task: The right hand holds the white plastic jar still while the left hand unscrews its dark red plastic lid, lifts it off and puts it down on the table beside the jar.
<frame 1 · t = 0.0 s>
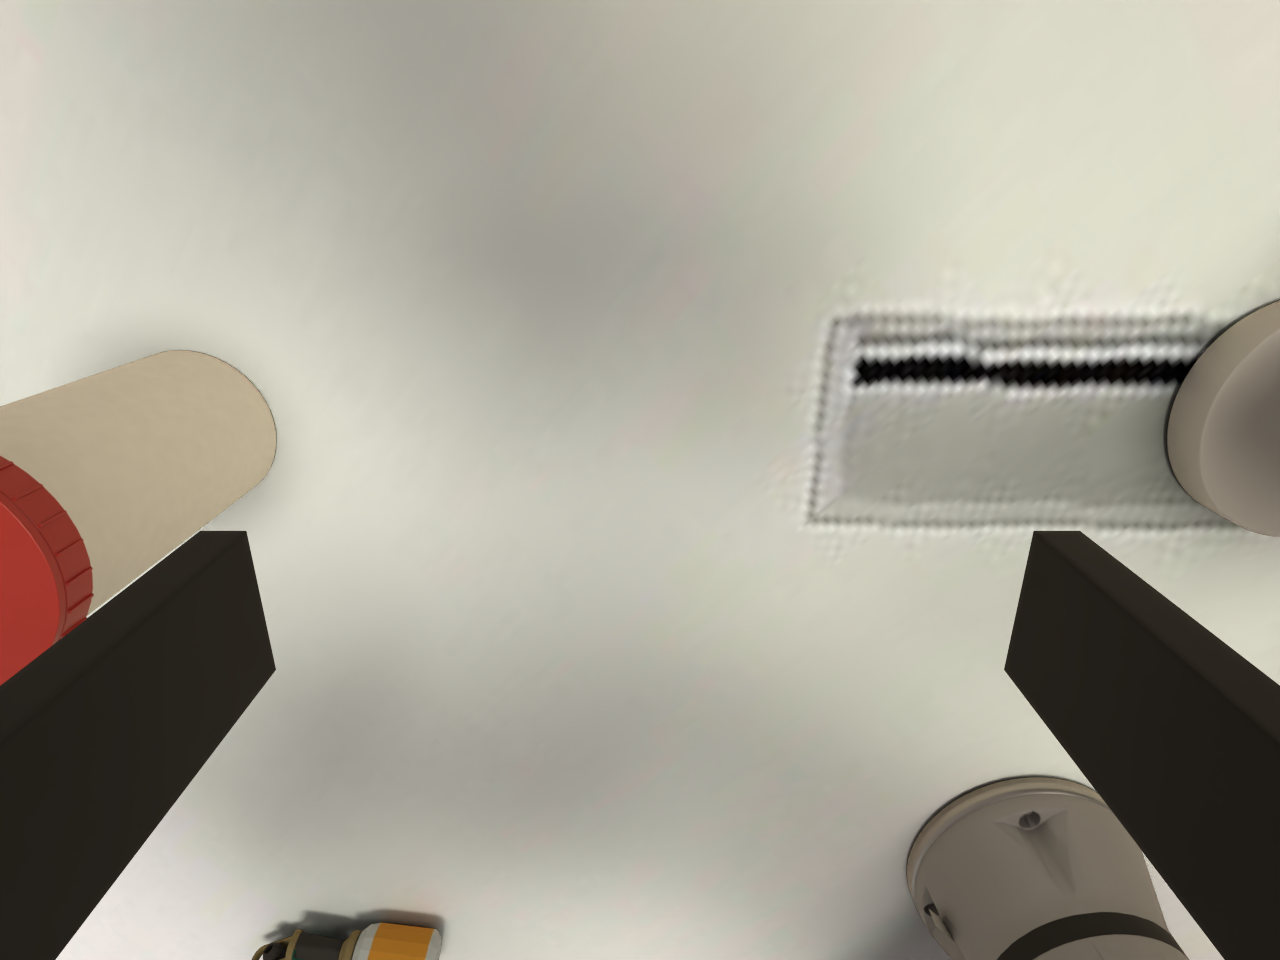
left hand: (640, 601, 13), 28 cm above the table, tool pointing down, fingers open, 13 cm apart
jar: (197, 427, 41), on the table
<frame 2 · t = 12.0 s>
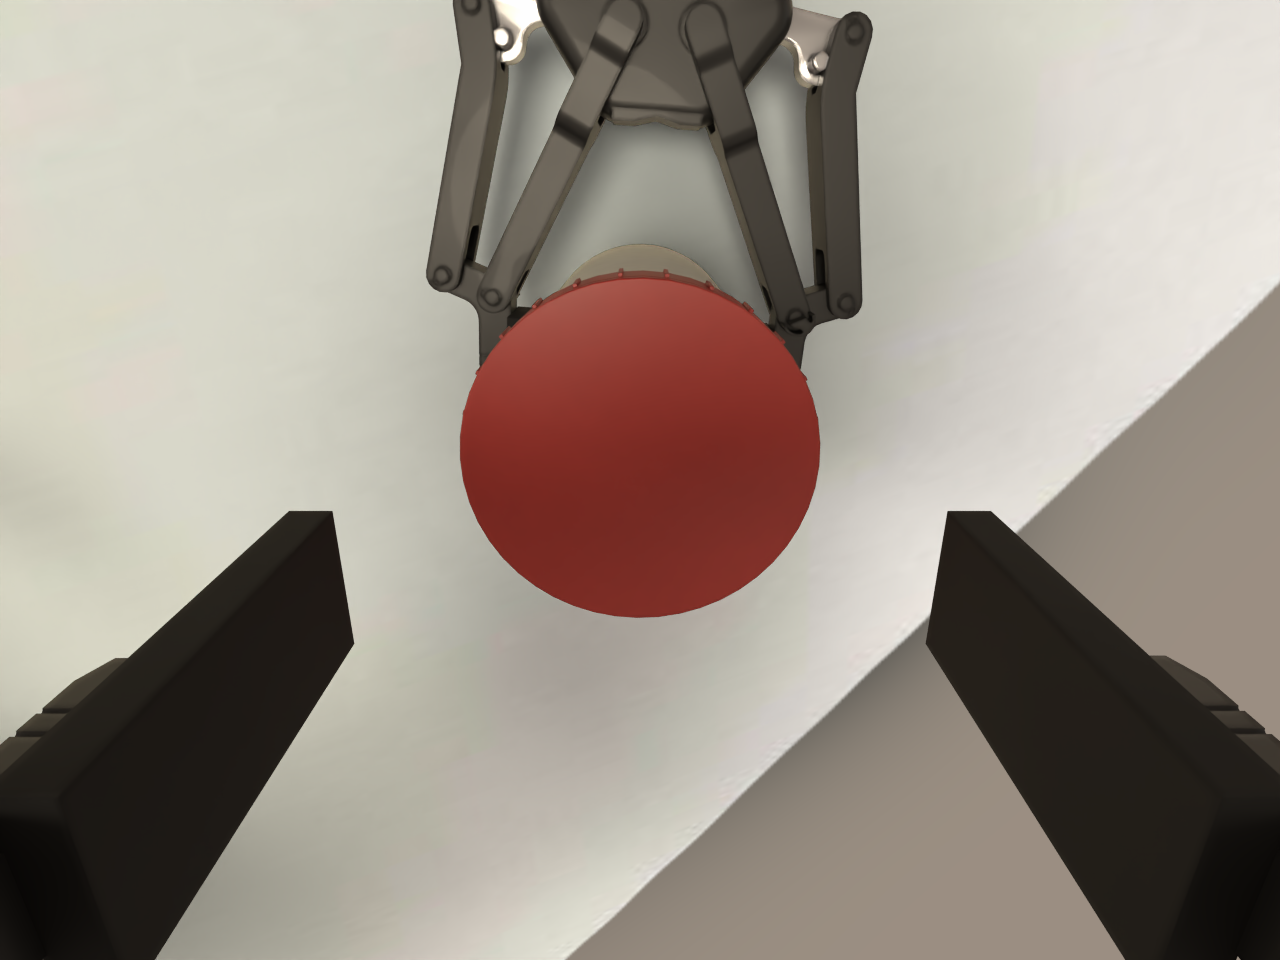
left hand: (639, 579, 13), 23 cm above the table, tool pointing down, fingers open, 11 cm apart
right hand: (632, 476, 31), fingers closed on jar, 9 cm apart
lid: (640, 458, 19), point 17 cm above the table, screwed on, not yet turned
jar: (639, 339, 35), on the table, touching right hand
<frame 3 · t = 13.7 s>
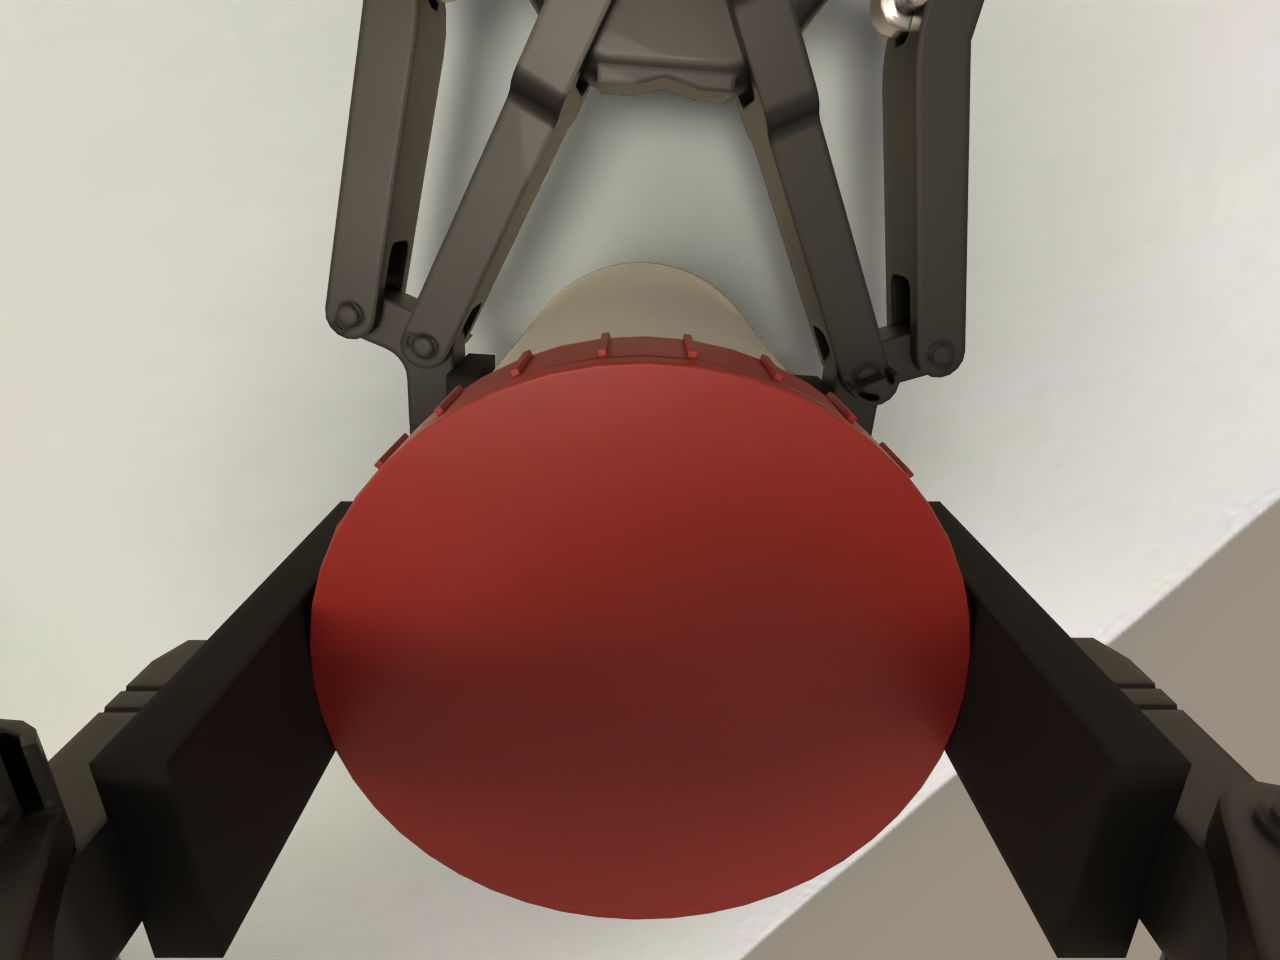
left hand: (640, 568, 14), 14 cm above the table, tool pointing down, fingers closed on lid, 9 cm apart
right hand: (629, 586, 22), fingers closed on jar, 9 cm apart
lid: (640, 671, 11), point 17 cm above the table, screwed on, not yet turned, touching left hand
jar: (639, 387, 26), on the table, touching right hand
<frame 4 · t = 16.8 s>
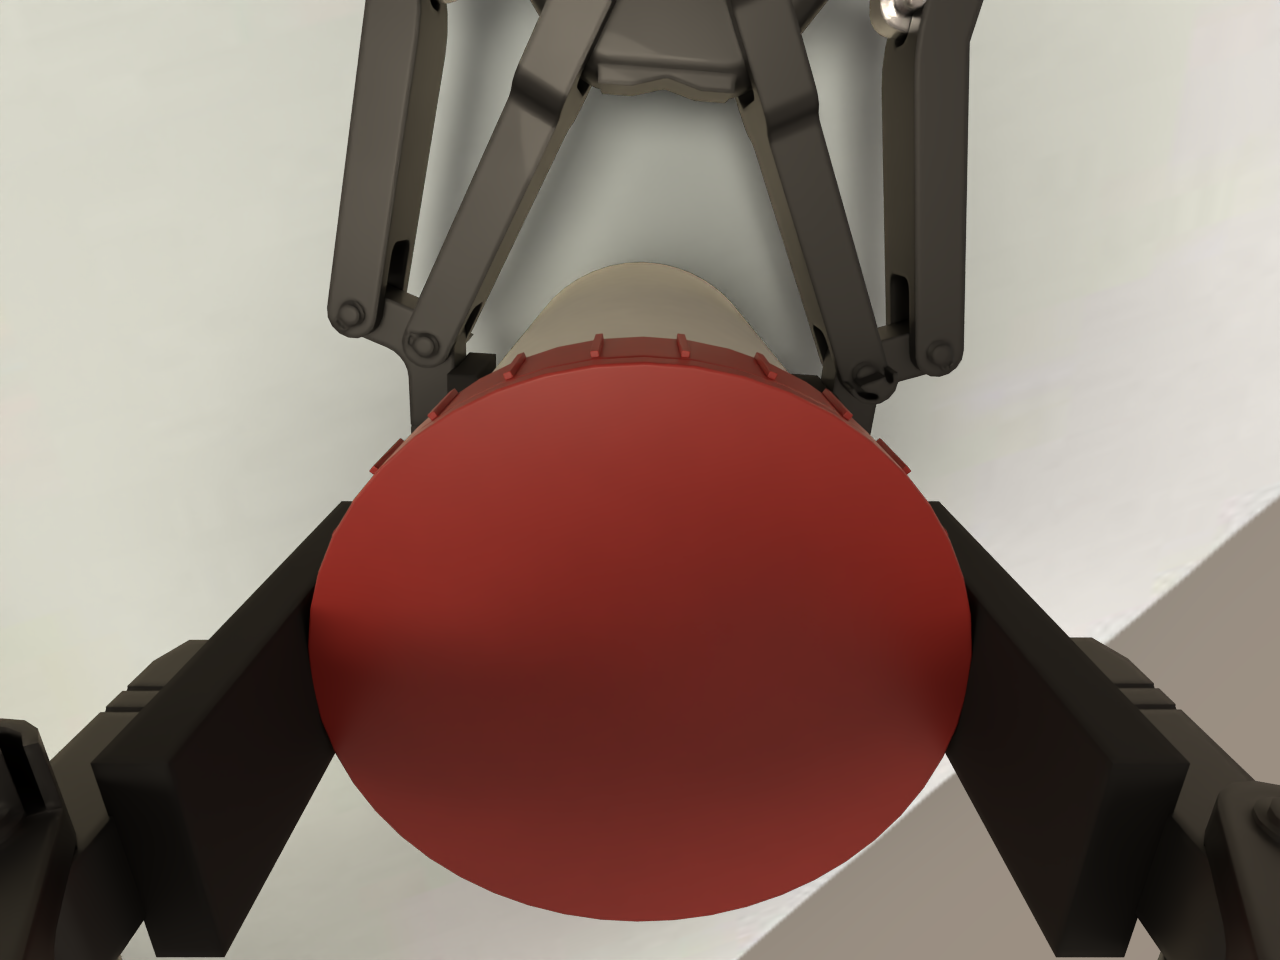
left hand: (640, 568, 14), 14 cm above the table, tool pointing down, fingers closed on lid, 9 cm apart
right hand: (630, 584, 22), fingers closed on jar, 9 cm apart
lid: (640, 672, 11), point 17 cm above the table, turned 98° so far, risen 0.1 cm, still on its thread, touching left hand
jar: (640, 386, 26), on the table, touching right hand
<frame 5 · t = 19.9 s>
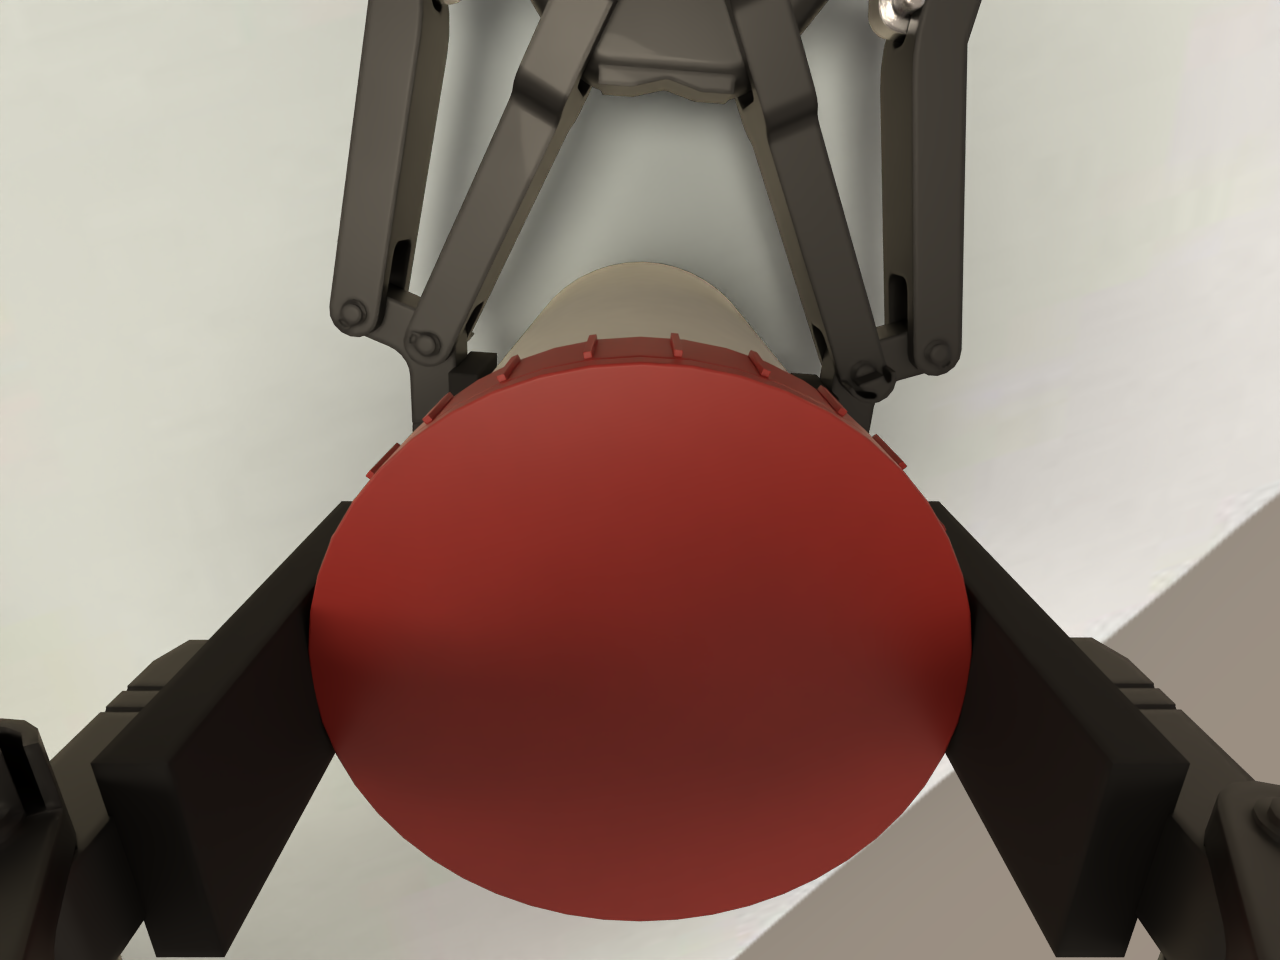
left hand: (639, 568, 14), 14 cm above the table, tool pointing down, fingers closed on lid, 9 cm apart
right hand: (629, 582, 23), fingers closed on jar, 9 cm apart
lid: (640, 672, 11), point 17 cm above the table, turned 196° so far, risen 0.3 cm, still on its thread, touching left hand
jar: (640, 386, 27), on the table, touching right hand
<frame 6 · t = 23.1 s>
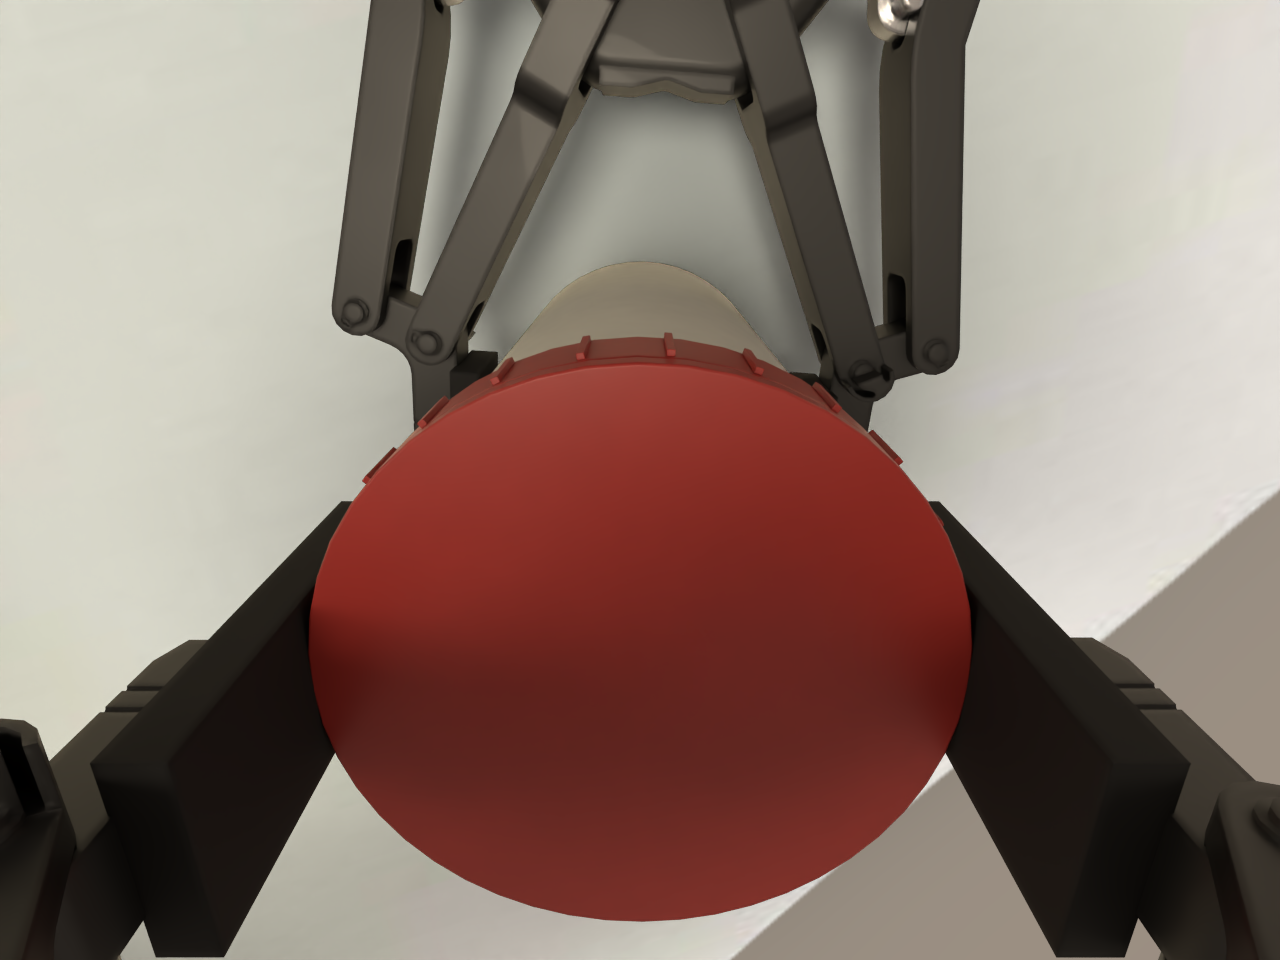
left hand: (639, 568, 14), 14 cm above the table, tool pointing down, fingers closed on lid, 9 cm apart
right hand: (629, 580, 23), fingers closed on jar, 9 cm apart
lid: (640, 672, 11), point 17 cm above the table, turned 294° so far, risen 0.4 cm, still on its thread, touching left hand
jar: (640, 385, 27), on the table, touching right hand
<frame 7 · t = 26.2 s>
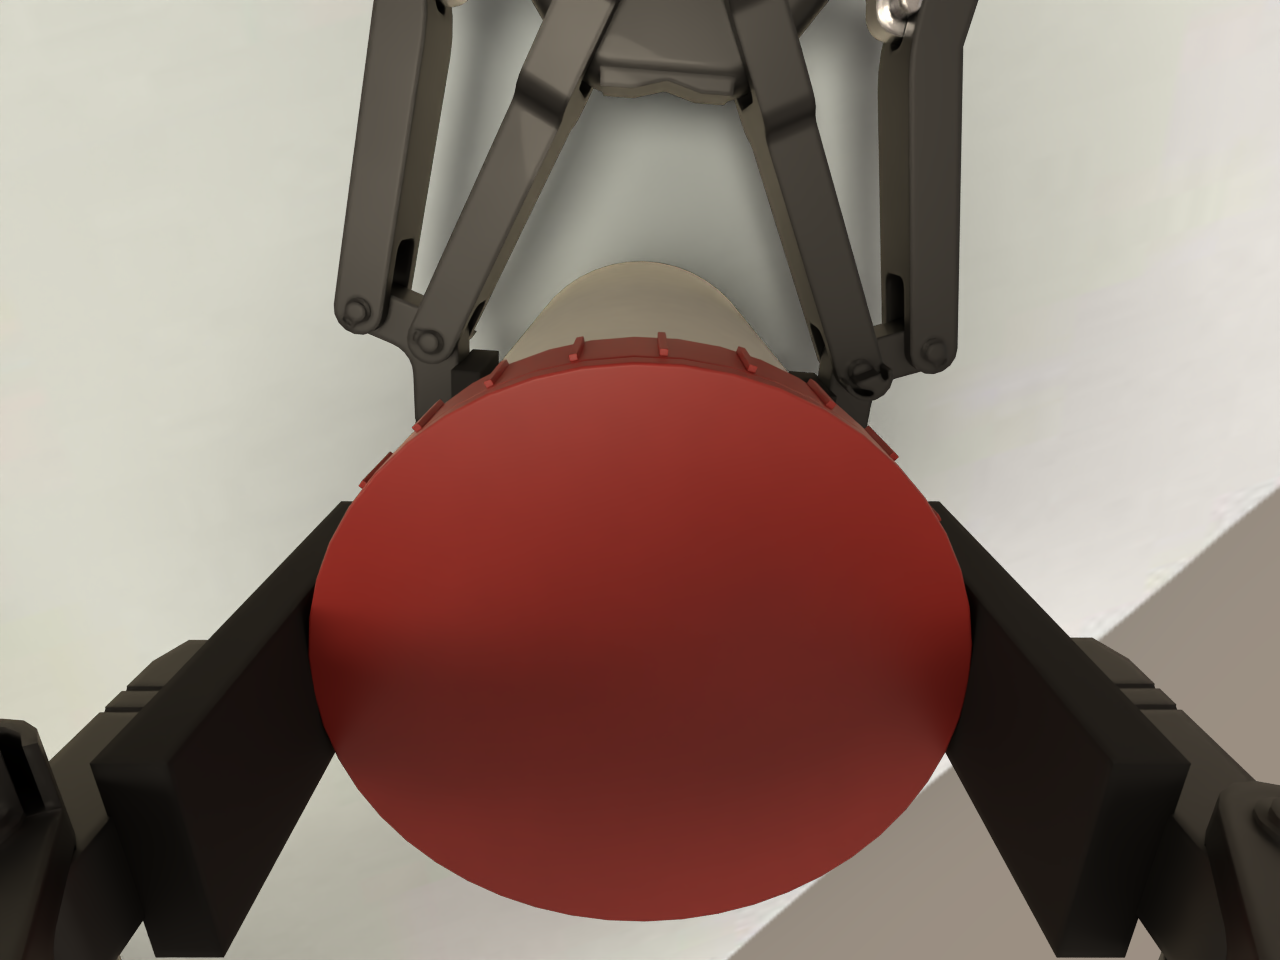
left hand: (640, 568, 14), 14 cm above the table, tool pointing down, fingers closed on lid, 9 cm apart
right hand: (629, 577, 23), fingers closed on jar, 9 cm apart
lid: (640, 672, 11), point 17 cm above the table, turned 392° so far, risen 0.5 cm, still on its thread, touching left hand
jar: (640, 384, 27), on the table, touching right hand
when the left hand's fingers open (0 cm above the table, at t = 32.5 s): lid drops 2 cm, point 1 cm above the table.
when the right hand's fingers open (6 cm above the table, at t = 33.5 s): jar stays where it is, on the table.
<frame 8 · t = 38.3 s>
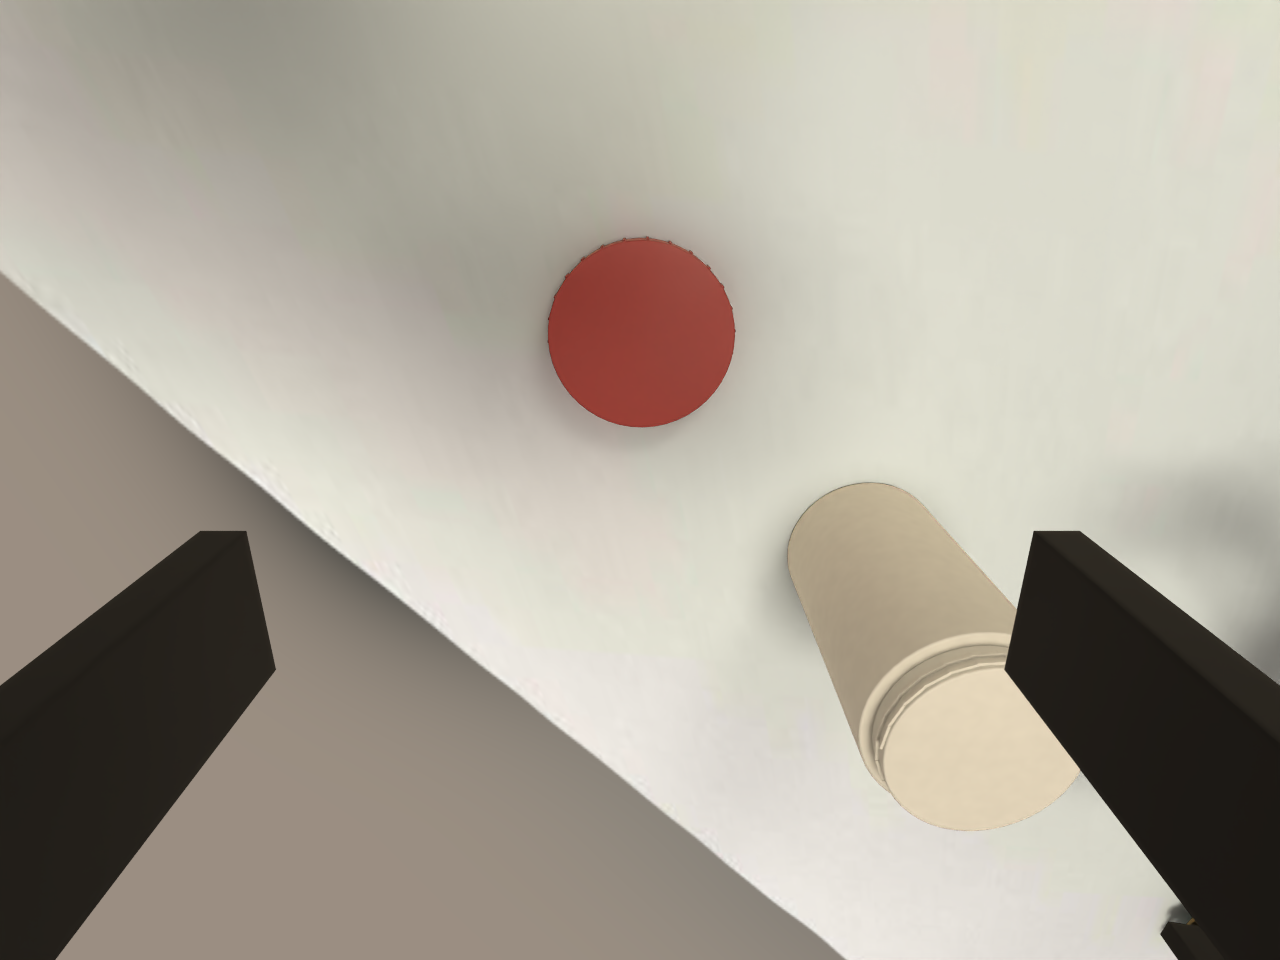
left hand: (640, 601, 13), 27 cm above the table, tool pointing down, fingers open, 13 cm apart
lid: (641, 336, 37), point 1 cm above the table, off its thread
jar: (861, 551, 43), on the table
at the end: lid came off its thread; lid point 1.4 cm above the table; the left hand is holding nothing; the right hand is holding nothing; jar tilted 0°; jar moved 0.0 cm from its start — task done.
